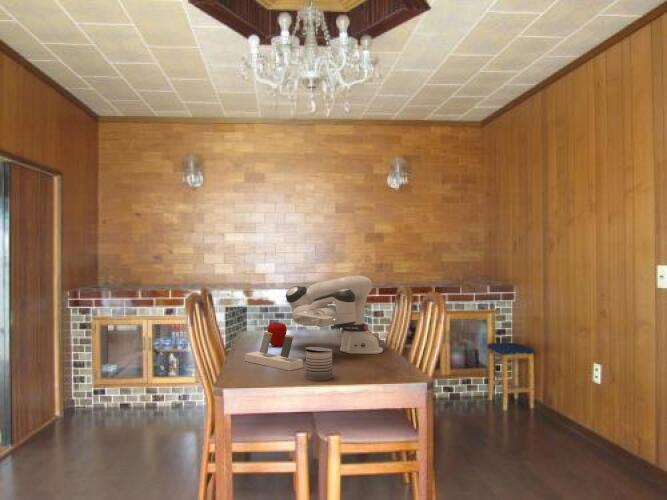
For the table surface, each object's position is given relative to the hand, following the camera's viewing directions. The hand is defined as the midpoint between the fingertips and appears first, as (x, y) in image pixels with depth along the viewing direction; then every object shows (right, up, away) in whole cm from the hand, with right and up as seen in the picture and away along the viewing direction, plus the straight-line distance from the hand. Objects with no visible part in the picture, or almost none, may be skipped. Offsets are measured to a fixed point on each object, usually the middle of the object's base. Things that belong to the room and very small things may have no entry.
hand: (303, 321), depth 245 cm
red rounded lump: (-17, -20, +42) cm, 50 cm away
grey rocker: (-19, -16, 0) cm, 25 cm away
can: (+8, -19, -27) cm, 35 cm away
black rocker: (-8, -16, -9) cm, 20 cm away
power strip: (-14, -19, -4) cm, 24 cm away
